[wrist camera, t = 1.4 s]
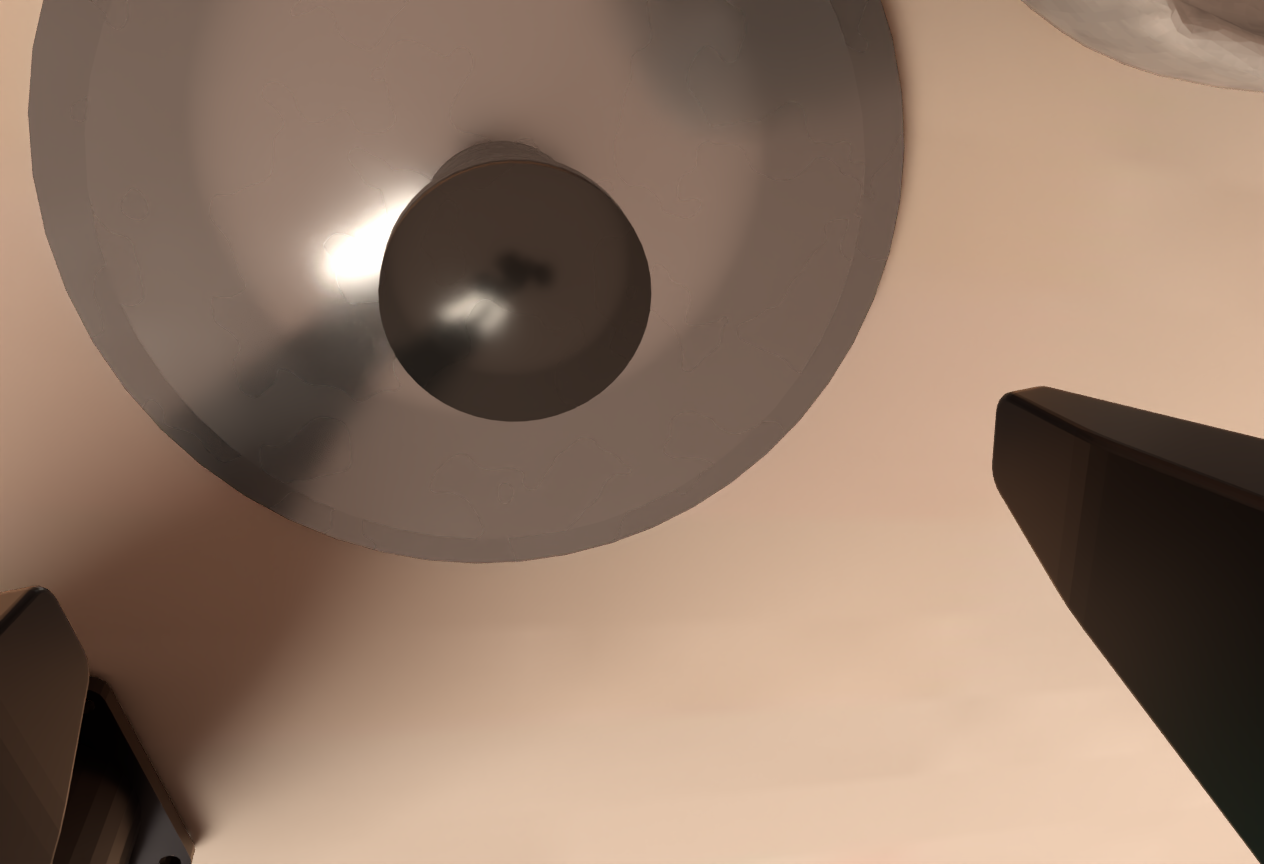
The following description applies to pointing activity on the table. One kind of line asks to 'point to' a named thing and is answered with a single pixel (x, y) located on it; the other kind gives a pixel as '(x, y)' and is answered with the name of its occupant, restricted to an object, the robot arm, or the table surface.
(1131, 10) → the dish
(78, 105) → the lid
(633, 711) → the table surface
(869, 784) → the table surface
